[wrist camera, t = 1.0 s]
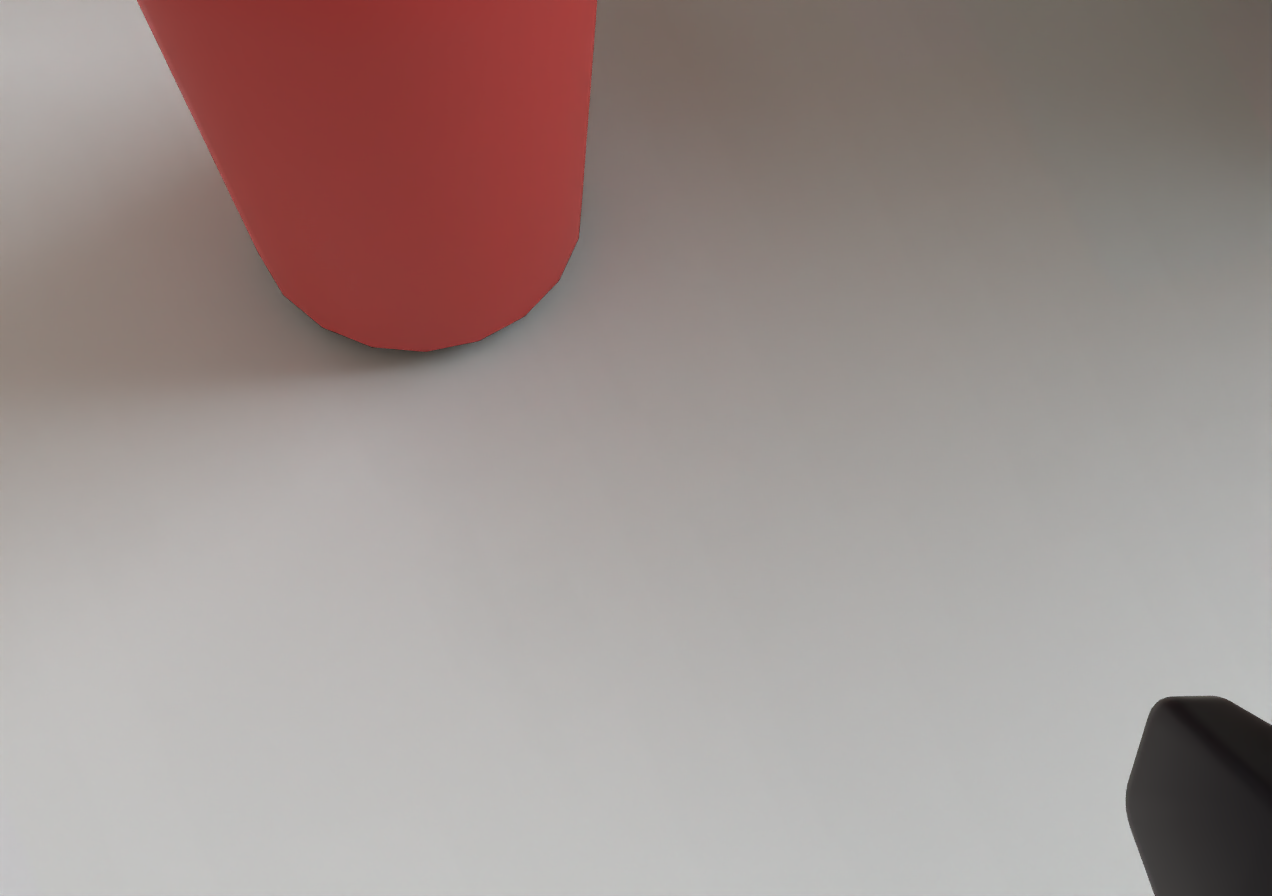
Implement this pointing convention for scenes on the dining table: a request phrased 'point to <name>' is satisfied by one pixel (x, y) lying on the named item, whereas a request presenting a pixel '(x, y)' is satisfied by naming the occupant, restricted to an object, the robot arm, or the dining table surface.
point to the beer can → (395, 151)
